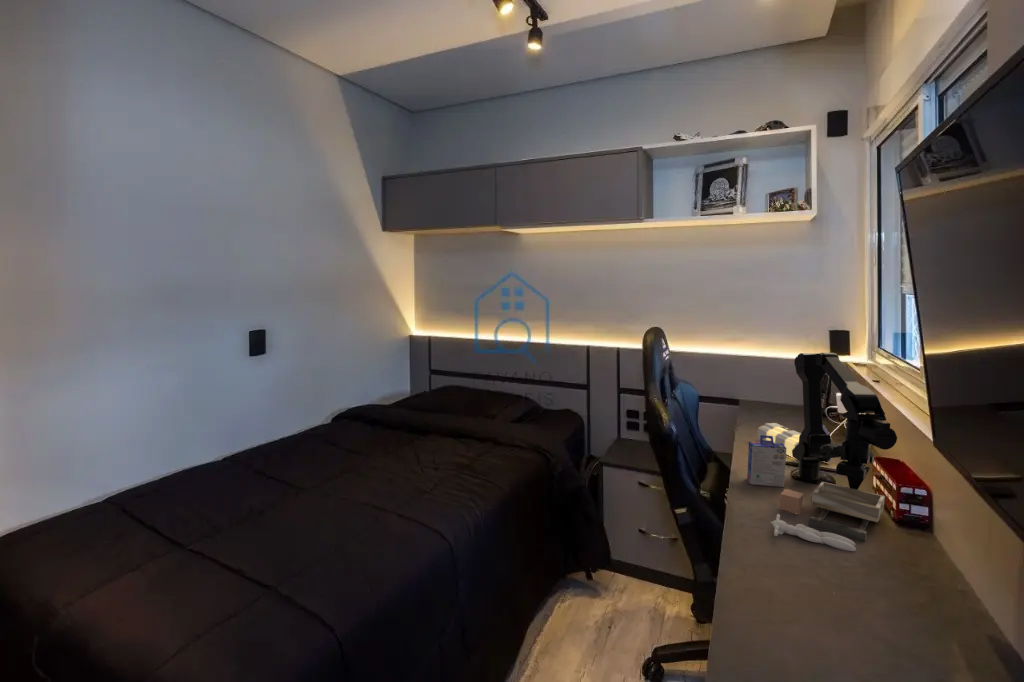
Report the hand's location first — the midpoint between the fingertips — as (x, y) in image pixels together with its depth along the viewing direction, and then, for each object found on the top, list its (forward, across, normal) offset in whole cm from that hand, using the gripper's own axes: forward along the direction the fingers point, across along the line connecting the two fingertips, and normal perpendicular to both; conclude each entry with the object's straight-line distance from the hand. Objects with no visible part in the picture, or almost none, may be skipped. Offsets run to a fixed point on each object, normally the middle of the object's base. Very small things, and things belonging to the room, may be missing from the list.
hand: (853, 492), depth 144 cm
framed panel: (+4, +6, 0) cm, 7 cm away
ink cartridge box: (+4, -2, -23) cm, 24 cm away
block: (+4, +13, -12) cm, 18 cm away
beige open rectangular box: (+4, +6, 0) cm, 8 cm away
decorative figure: (+4, +28, -4) cm, 28 cm away
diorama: (+5, -39, -24) cm, 46 cm away
